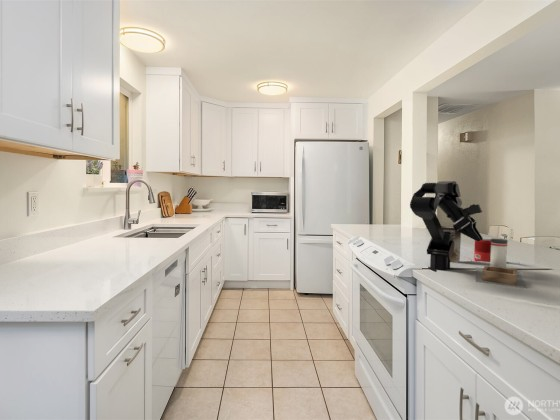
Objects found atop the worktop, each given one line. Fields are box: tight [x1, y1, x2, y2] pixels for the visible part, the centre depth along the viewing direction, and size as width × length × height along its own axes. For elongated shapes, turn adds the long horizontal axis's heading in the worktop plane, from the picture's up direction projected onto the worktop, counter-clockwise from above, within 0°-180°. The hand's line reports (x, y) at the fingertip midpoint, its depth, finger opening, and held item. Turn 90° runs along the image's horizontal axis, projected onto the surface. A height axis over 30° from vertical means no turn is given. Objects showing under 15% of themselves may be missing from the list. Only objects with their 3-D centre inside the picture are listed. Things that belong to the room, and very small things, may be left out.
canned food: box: [473, 236, 496, 263], centre depth 141 cm, size 8×8×11 cm
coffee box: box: [441, 225, 462, 264], centre depth 140 cm, size 9×6×16 cm
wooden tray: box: [482, 265, 518, 286], centre depth 109 cm, size 10×10×4 cm
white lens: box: [489, 238, 509, 268], centre depth 117 cm, size 5×5×13 cm
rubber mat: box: [475, 266, 528, 289], centre depth 113 cm, size 24×14×1 cm, turn 148°
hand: (480, 240), depth 121 cm, fingers open, 9 cm apart
